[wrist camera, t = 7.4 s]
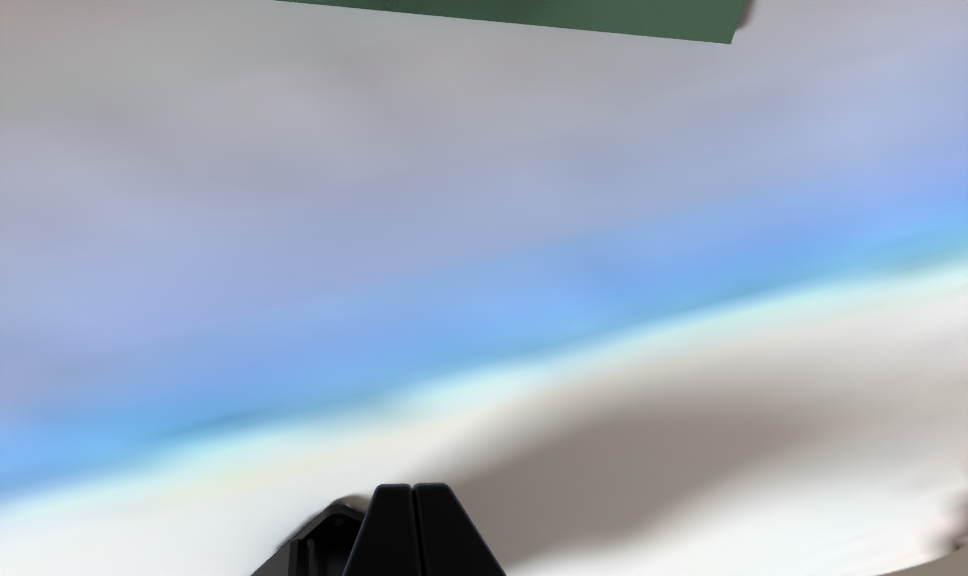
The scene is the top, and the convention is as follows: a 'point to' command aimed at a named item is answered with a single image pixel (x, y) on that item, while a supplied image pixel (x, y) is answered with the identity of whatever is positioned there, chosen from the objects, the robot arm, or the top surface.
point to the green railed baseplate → (582, 14)
